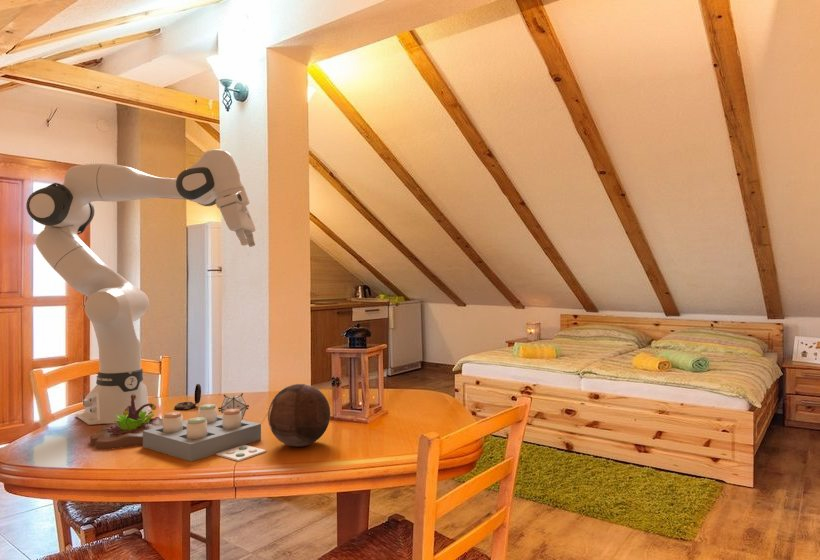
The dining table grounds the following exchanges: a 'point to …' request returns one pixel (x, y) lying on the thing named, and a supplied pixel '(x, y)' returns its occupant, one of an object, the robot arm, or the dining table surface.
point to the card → (241, 452)
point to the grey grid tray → (201, 440)
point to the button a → (172, 422)
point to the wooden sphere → (299, 415)
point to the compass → (190, 404)
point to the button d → (231, 419)
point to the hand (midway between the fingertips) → (248, 245)
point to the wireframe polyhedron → (234, 404)
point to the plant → (126, 428)
